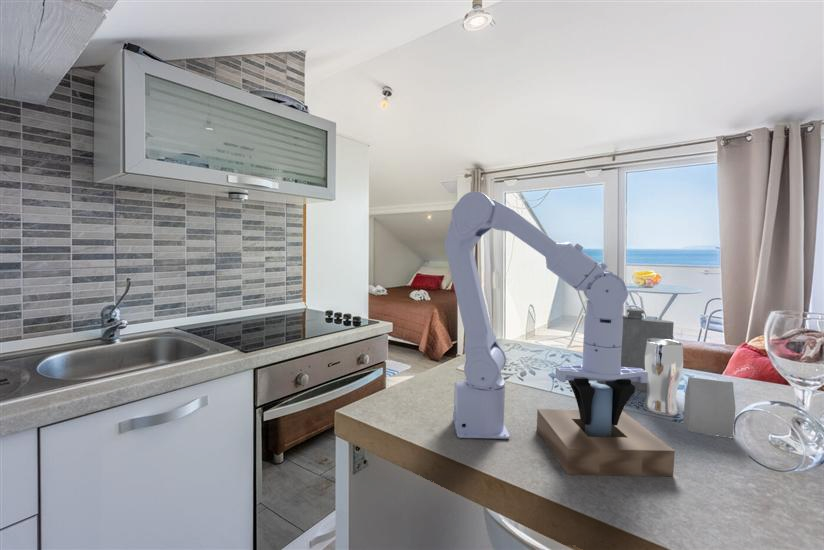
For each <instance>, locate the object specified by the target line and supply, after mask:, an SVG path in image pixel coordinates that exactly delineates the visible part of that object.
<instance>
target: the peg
mask: <svg viewBox="0 0 824 550" xmlns="http://www.w3.org/2000/svg"><path fill="white" fill-rule="evenodd" d="M589 383H590V384H591V385H590V386H591V387H593V388H594V389H595V393H594V396H593V400H592V405H591V421H590V425H585V434H586V435H587V436H588V437H611V427H612V399H613V388H612V387H610V386H607V385H606V384H605V383H598V382H597V383H596V382H589Z"/></svg>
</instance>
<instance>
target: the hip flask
mask: <svg viewBox="0 0 824 550" xmlns="http://www.w3.org/2000/svg"><path fill="white" fill-rule="evenodd" d="M626 312H627V313H628V314H627V315H625V314H622V318H623V332H622V351H621V367H629V368H641V369H643V370H644V352H645V345H646V339H650V338H658V339H667V340H673V341H674V339H673V338H674V323H675V322H674V321H670V320H665V319H664V320H663V319H650V318H643V315H644V312H645V311H644V309H640V308H626ZM598 382H600V383H601V384H606V383H605V381H598ZM631 384H632V385H634V386H635V391H640V392H645V393H647V386H646V383H640V382H639V381H631Z"/></svg>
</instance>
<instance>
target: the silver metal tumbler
mask: <svg viewBox="0 0 824 550" xmlns="http://www.w3.org/2000/svg"><path fill="white" fill-rule="evenodd" d="M683 368H684V344H683V343H682V342H679V341H676V340H674V339H673V340H667V339H658V338H650V339H646V345H645V352H644V370H645V371H647V372H648V377H647V383H646V386H647V392H645V393H646V395H645V400H644V402H643V408H644V409H645V411H648V412H650V413H653V414H656V415H659V416H664V417H675V416H677V415H678V406H677V393H678V389H679V385H680V382H681V379H682V374H683V370H684V369H683Z"/></svg>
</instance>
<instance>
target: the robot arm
mask: <svg viewBox="0 0 824 550" xmlns="http://www.w3.org/2000/svg"><path fill="white" fill-rule="evenodd" d="M448 226H449V227H448V229H447V233H446V237H445V240H444V249H445V254H446V257H447V263H448V266H449V271H450V275H451V280H452V283H453V289H454V292H455V296H456V297H455V298H456V301H457V305H458V310H459V313H460V318H461V321H462V326H463V330H464V335H465V337H464V349H463V350H464V354H465V363H464V367H463V372H464V376H465V380H463V381H457V382H454V389H453V390H454V391H453V411H452V420H453V423H454V428H455V433H456V435H457V438H460V439H510V438H511V435H510V433H509V430H508V428H507V427H506V425H505V394H506V393H505V392H506V381H505V379H504V378H503V375H502V374H501V372H502V371H503V369H505V368H504V367H505V366H506V363H507V357H506V353H505V351H504V349H502V347H501V346H500V345H499V343H498V339H497V336H496V334H495V332H494V331H493V329H492V326H491V322H490V317H489V313H488V310H487V303H486V301H485V297H484V292H483V287H482V285H481V284H482V283H481V280H480V275H479V271H478V266H477V263H476V258H475V255H474V248H475V246H476V245H477V244H478V242H479V241H480V239H482V236H483V235H485V234H486V233H487V232H489V231H490V230H492V229H495V230H496V231H497V230H498V231H502V232H509V233H510V234H512V235H514V236H515V237H516V238H518V239H519V240H520V241H522V243H523V242H524V243H525V244H527V246H529V247H531V248H532V249H533V250H535V251H536V252H538V253H539V254H540V255H542V256H544V257H545V264H546V268H547V269H548V270H549V271H550V272H552V273H553V274H554V275H556V276H557V277H558V278H559V279H561V280H562V281H564V282H565V283H566V284H567V285H569V286H570V287H571V288H573V289H574V290H575V291H577V292H578V291H582V292H583V293H584V295H585V298H586V299H587V300H586V312H585V314H584V322H583V323H584V324H583V344H582V345H583V346H582V363H581V364H576V365H567V366H566V365H565V366H555V378H556V380H557V381H558V382H566V381H568V383H569V386H570V388H571V389H572V390H571V391H572V392H573V395H574V397H575V400H576V403H577V408H578V410H579V413H580V420H581V421H582V422H583V423H584V424H585V425H590V421H591V405H592V400H593V396H594V393H595V389H594V388H593V387H591V386H590V385H591V384H590V383H591V382H592V381H593V382H594V381H595V382H596V381H597V382H599V381H605V383H604V384H605V385H607V386H610V387H612V388H613V399H612V424H613V425H617V424H618V421H619V418H620V415H621V413H622V411H623V412H624V408H625V406H626V405H627V403H628V401H629V400H630V398H631V397H632V396H633V395H634V394H635V393H636V390H635V386H634V385H632V384H631V381H639V382H640V383H647V377H648V372H647V371H645V370H643V369H641V368H629V367H621V351H622V332H623V318H622V315H623V312H624V307H623V305H624V303H625V302H626V300H627V299H628V296H629V291H628V289H627V285H626V283H625V281H624V280H623V279H622V277H620V276H618V275H616V274H614V273H613V272H612V271H610V270H607V268H609V267H608V266H609V265H607V264H606V263H605V262H601V263H599V262H598V261H597V260H595V259H594V258H592V257H591V256H589V254H587V253H585V251H583V249H584V247H583V246H582V245H581V244H580V243H575V245H574V244H573V243H572V242H571V241H566V242H565V241H564V242H556V241H555V240H554V239H552V238H551V237H549V235H547V234H545V233H544V232H543V231H542V230H540V229H539V228H538V227H537V226H536V225H534V224H532V223H531V222H530V221H528V220H527V219H526V218H525V217H524V216H522V215H521V214H520V213H518V212H517V211H516V210H514V209H512V208H511V207H509V206H507V205H505V204H503V203H501V202H500V201H497V200H496V199H490V197H488V196H487V195H486V193H483V192H481V191H476V190H475V191H470V192H466V193H465V194H464V195H462V197H460V199H459V200H458V201H457V203H456V204H455V205H454V207H453V208H452V209H451V219H450V223H449V225H448ZM590 381H591V382H590Z"/></svg>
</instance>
